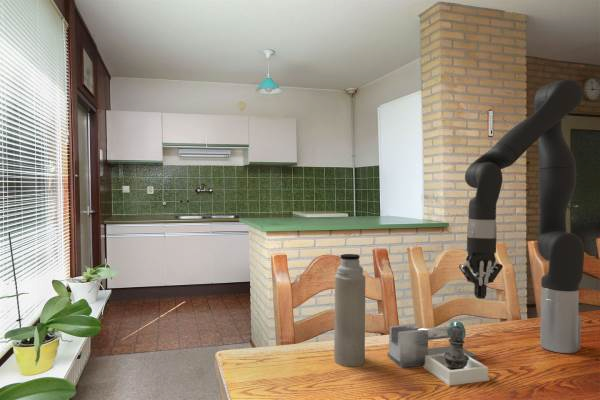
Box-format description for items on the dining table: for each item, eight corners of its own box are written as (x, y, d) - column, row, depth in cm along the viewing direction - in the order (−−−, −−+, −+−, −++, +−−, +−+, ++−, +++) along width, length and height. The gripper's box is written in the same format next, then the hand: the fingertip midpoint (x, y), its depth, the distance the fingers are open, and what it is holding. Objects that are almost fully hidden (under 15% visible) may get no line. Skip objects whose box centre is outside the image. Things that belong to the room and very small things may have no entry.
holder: (461, 362, 116) (461, 351, 116) (489, 380, 106) (489, 367, 106) (423, 367, 113) (423, 355, 113) (449, 385, 103) (449, 372, 103)
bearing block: (458, 348, 127) (458, 318, 126) (476, 359, 119) (477, 327, 119) (387, 356, 121) (387, 325, 120) (402, 367, 113) (402, 334, 113)
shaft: (454, 337, 124) (454, 319, 124) (465, 343, 120) (465, 324, 119) (413, 341, 121) (413, 322, 121) (423, 347, 116) (423, 328, 116)
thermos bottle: (346, 352, 123) (347, 251, 122) (370, 360, 118) (371, 254, 117) (328, 360, 117) (328, 254, 117) (352, 369, 112) (353, 258, 111)
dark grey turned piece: (470, 377, 106) (471, 326, 106) (444, 374, 107) (445, 325, 107) (466, 367, 112) (467, 319, 112) (442, 365, 113) (442, 318, 113)
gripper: (492, 233, 128) (491, 293, 129) (452, 234, 125) (451, 296, 125) (511, 236, 121) (510, 300, 122) (469, 237, 117) (468, 303, 118)
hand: (480, 298), depth 123 cm, fingers closed
